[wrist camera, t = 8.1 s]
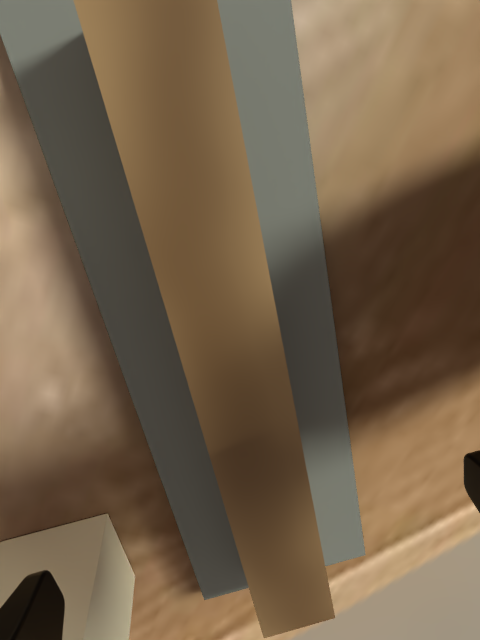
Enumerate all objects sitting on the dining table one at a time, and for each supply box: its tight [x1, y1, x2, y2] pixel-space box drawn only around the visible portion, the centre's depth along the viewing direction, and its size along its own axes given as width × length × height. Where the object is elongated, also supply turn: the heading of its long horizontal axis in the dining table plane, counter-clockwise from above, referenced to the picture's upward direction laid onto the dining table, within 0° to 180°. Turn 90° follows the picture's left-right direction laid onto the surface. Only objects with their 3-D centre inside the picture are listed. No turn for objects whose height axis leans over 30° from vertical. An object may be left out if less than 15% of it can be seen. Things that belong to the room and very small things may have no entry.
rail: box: [73, 0, 335, 638], centre depth 15 cm, size 3×22×3 cm, turn 12°
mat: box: [0, 0, 365, 600], centre depth 16 cm, size 8×24×1 cm, turn 12°
